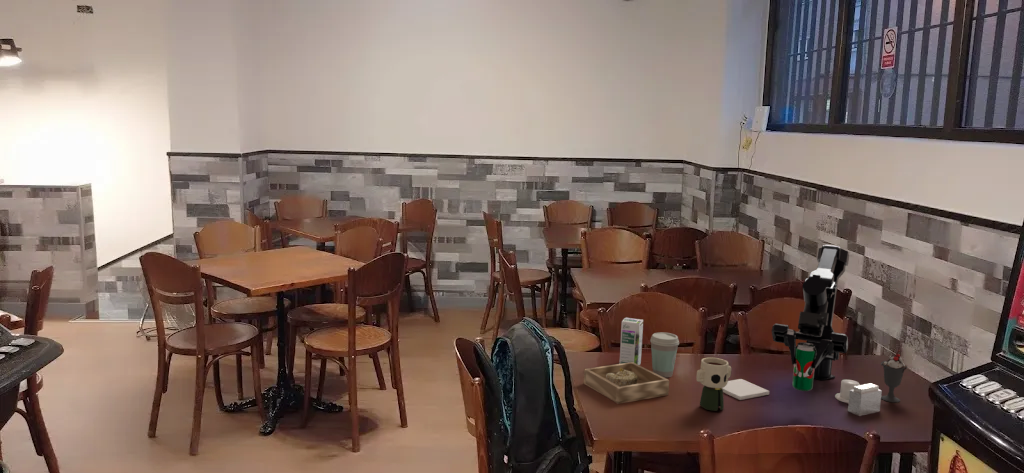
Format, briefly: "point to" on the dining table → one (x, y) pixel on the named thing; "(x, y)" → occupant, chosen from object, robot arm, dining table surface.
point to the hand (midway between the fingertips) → (803, 365)
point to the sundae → (893, 375)
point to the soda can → (804, 366)
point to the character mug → (713, 382)
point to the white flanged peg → (846, 390)
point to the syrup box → (631, 341)
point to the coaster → (743, 389)
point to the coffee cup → (664, 353)
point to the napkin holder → (864, 399)
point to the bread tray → (644, 389)
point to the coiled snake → (622, 378)
